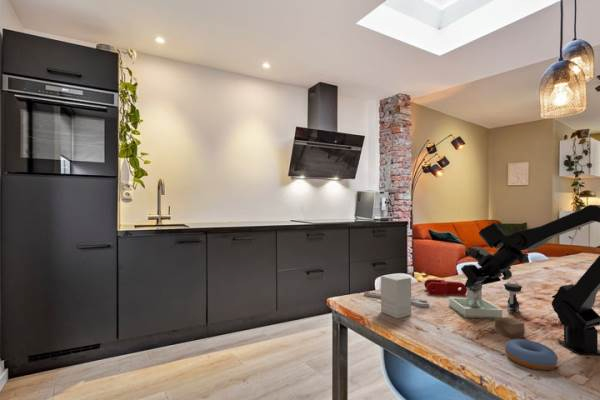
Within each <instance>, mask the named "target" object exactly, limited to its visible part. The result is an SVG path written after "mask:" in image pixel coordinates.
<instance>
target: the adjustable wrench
mask: <svg viewBox="0 0 600 400" xmlns="http://www.w3.org/2000/svg"><path fill="white" fill-rule="evenodd" d="M363 296H364V297H371V298H375V299H376V298H377V299H381V293H377V292H371V291H365V292H363ZM412 305H413V306H415V307H419V308H429V307H430V302H428V300H427V299H423V298H418V297H414V298H412V297H411V306H412Z"/></svg>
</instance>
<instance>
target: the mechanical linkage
mask: <svg viewBox="0 0 600 400" xmlns="http://www.w3.org/2000/svg"><path fill="white" fill-rule="evenodd" d="M424 287H425V289H426V291H427V292H428V294H430V295H435V296H436V295H437V296H446V297H447V296H448V295H459V296H464V295H466V294H467V287H466V286H465V284H464V283H463V282H462V281H461V282H460V281H446V280H444V279H435V278H428V279H426V280H425V281H424ZM459 288H460V289H459Z"/></svg>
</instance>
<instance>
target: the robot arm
mask: <svg viewBox="0 0 600 400" xmlns="http://www.w3.org/2000/svg"><path fill="white" fill-rule="evenodd" d="M595 222H597V223H600V204H588V205H586V206H584V207H583V208H581V209H578V210H576V211H574V212H572V213H569V214H567V215H564V216H561V217H559V218H557V219H555V220H552V221H549V222H547V223H545V224H543V225H540V226H536V227H531V228H525V229H522V230H517V231H514V232H512V233H510V234H509V233H508V232H506V231H505V230H504V228H502V227H501V226H500V224H499V223H498V222H492V223H491V224H490V225H489V224H488V226H485V227H483V228H481V229H480V230H479V232H478V236H480V238H481V239H482V240H483V242H484V243H486V245H487V246H488V247H489V248H490V249H493V248H494V249H495V250H496V251H495V252H494V253H493V254H492V253H491V252H489V251H488V250H487V249H485V248H483V247H481V246H473V247H470V248H469V249H468V250H467V256H469V257H470V258H471V259H474V260H475V261H477V265H478V266H479V267H477V265H476V264H464V265H463V266H461V268H460V270H461V272H462V273H463V275H464V276H465V277H466V280H467V281H466V280H465V281H466V282H465V284H464V285H465V286H466V287H467V288H468V287H472V286H476V285H480V284H482V286H485V285H488V284H493V283H497V282H498V283H499V282H501V281H502V280H503V281H507V280H510V279H511V278H512V276H513V274H512V273H513V272H512V271H511V269H512V267H511V266H512V265H514V264H515V263H516V262H519V263H520V264H524V263H529V262H530V258H529V253H524V252H523V251H531V250H537V249H539V248H540V247H542V246H543V245H545V244H547V243H548V242H549V241H551V240H552V239H554V238H555V237H559V236H561V235H564V234H566V233H570V232H572V231H575V230H577V229H579V228H582V227H585V226H587V225H590V224H593V223H595ZM507 233H508V234H507ZM502 276H503V277H502ZM500 277H501V278H500ZM598 292H600V255H598V257H596V259H595V260H594V262H592V264H591V265H590V266H589V267H588V268H587V269H586V271H585V272H584V273H582V276H581V277H580V278H579V279H578V280H577V282H576V283H575V284H573V283H571V284H566V285H565V284H564V285H560V286H559V288H558V290H557V292H556V293H555V294H553V295H552V296H551V298H553V299H552V301H551V307H552V309H553V311H554V312H555V314H556V315H557V318H558V320H559V322H560V325H562V326H563V340H558V343H559V344H560V345H561V346H564V347H565V348H567V349H568V350H570V351H572V352H574V353H576V354H577V355H578V354H579V355H599V356H600V349H599V348H598V347H599V345H598V343H599V342H598V340H599V337H598V335H599V334H598V329H597V328H596V327H599V326H600V315H599V314H598V312H596V311H595V309H594V308H593V306H594V304H595V303H596V297H597V294H598Z"/></svg>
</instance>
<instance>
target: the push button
mask: <svg viewBox="0 0 600 400" xmlns="http://www.w3.org/2000/svg"><path fill="white" fill-rule="evenodd" d="M503 286H504V289H505V290H506V292H508V293H509V297H508V299H507V312H508V313H512V314H514V312H515V313H518V312H520V302H519V301H518V298H517V293H520V292H522V289H523V286H522V285H520V283H519V282H515V281H507V282H506V283H504V284H503Z"/></svg>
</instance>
